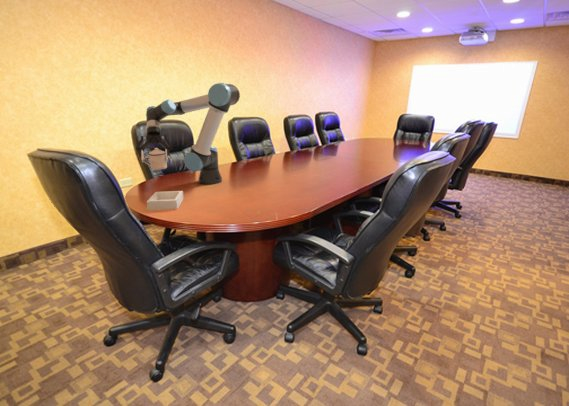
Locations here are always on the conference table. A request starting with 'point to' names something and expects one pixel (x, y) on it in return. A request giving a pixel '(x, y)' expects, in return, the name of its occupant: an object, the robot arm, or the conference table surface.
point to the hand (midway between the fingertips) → (154, 160)
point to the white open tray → (165, 200)
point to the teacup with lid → (157, 159)
